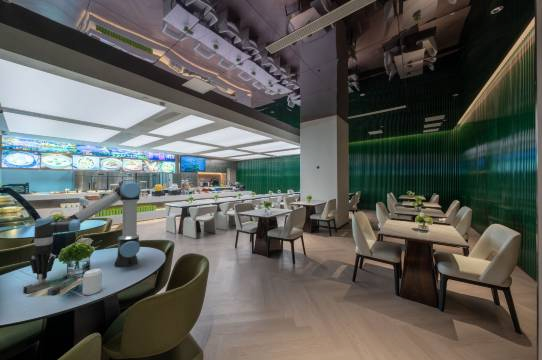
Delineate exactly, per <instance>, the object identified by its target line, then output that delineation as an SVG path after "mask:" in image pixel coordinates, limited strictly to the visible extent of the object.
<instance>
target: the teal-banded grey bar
mask: <svg viewBox="0 0 542 360" xmlns="http://www.w3.org/2000/svg"><path fill="white" fill-rule="evenodd" d="M77 279H78V275H72V276H68V277H67V279H66V280H65V281H63V282H61V283H59V284H58V285H56V286H54V287H52V288H50V289H48V293H47V296H48V295H49V296H58V295H57V294H58V293H60V291H61V290H62V289H64V288H66V287H68V286H69V285H71V284H73V283H74V282H76V281H77ZM47 296H46V297H47Z"/></svg>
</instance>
